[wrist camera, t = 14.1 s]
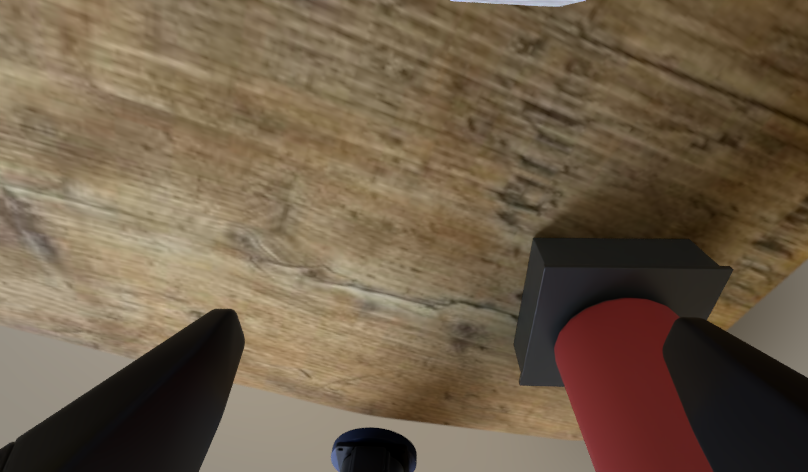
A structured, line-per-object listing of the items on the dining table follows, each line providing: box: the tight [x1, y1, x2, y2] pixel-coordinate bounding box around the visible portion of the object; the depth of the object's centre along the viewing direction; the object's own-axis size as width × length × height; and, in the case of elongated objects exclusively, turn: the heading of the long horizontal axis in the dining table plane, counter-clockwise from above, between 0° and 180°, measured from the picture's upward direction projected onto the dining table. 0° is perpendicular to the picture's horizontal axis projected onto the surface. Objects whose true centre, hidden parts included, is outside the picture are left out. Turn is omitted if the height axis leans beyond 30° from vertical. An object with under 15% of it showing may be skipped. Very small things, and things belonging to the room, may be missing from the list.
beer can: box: [554, 298, 713, 472], centre depth 16 cm, size 7×7×12 cm
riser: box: [514, 238, 733, 387], centre depth 22 cm, size 9×9×3 cm
